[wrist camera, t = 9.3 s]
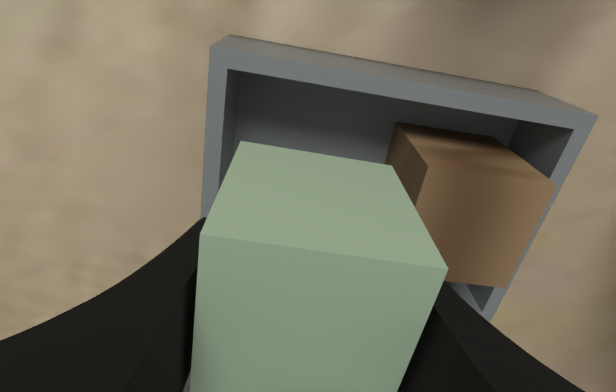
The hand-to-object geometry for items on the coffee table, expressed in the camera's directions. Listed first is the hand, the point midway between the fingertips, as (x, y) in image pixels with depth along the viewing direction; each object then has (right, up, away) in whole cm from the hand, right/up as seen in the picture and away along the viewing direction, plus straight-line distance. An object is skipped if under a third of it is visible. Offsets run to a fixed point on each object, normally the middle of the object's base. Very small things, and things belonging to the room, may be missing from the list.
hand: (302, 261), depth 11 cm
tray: (+3, +3, +8) cm, 9 cm away
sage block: (0, +1, +1) cm, 2 cm away
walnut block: (+6, +3, +7) cm, 10 cm away
